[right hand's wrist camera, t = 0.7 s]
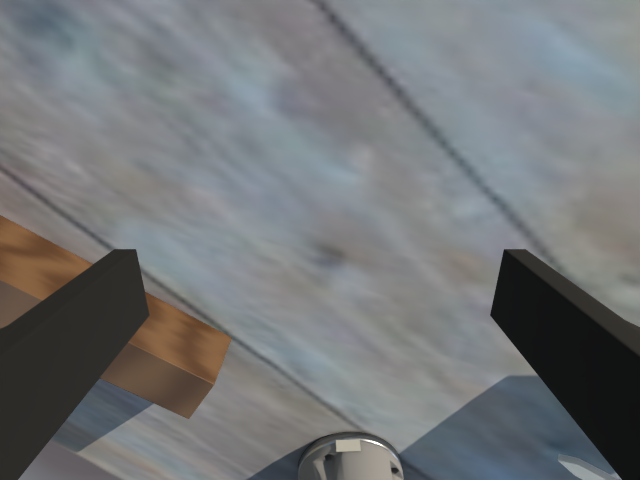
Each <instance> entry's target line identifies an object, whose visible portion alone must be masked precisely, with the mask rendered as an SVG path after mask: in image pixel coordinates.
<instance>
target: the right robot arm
mask: <svg viewBox="0 0 640 480" xmlns="http://www.w3.org/2000/svg"><path fill="white" fill-rule="evenodd" d="M149 316H150V314H149V310H148V305H147V300H146V295H145V290H144V286H143V281H142V276H141V271H140V266H139V262H138V257H137V252H136V249H114V250H113V251H112V252H110V253H109V254H107V255H106V256H105V257H103V258H102V259H100V260H99V261H97V262H96V263H95V264H93V265H92V266H90V267H89V268H88V269H86V270H85V271H83V272H82V273H81V274H79V275H78V276H76V277H75V278H74V279H72V280H71V281H69V282H68V283H67V284H65V285H64V286H62V287H61V288H60V289H58V290H57V291H55V292H54V293H53V294H51V295H50V296H48V297H47V298H46V299H44V300H43V301H41V302H40V303H39V304H37V305H36V306H34V307H33V308H32V309H30V310H29V311H27V312H26V313H24V314H23V315H22V316H20V317H19V318H17V319H16V320H15V321H13V322H12V323H10V324H9V325H7V326H5V327H3V328H1V329H0V480H18V479H19V478H20V476H21V475H22V474H23V473H24V471H25V470H26V469H27V468H28V466H29V465H30V464H31V463H32V461H33V460H34V459H35V458H36V456H37V455H38V454H39V453H40V451H41V450H42V449H43V448H44V446H45V445H46V444H47V443H48V441H49V440H50V439H51V438H52V436H53V435H54V434H55V433H56V432H57V430H58V429H59V428H60V427H61V425H62V424H63V423H64V422H65V420H66V419H67V418H68V417H69V415H70V414H71V413H72V412H73V410H74V409H75V408H76V407H77V405H78V404H79V403H80V402H81V400H82V399H83V398H84V397H85V395H86V394H87V393H88V392H89V390H90V389H91V388H92V387H93V385H94V384H95V383H96V382H97V380H98V379H99V378H100V377H101V375H102V374H103V373H104V372H105V370H106V369H107V368H108V367H109V365H110V364H111V363H112V362H113V360H114V359H115V358H116V357H117V355H118V354H119V353H120V352H121V350H122V349H123V348H124V347H125V345H126V344H127V343H128V342H129V340H130V339H131V338H132V337H133V336H134V334H135V333H136V332H137V331H138V329H139V328H140V327H141V326H142V324H143V323H144V322H145V321H146V319H147V318H148V317H149ZM490 316H491V317H492V318H493V319H494V321H495V322H496V323H497V324H498V326H499V327H500V328H501V329H502V331H503V332H504V333H505V334H506V336H507V337H508V338H509V339H510V340H511V342H512V343H513V344H514V345H515V347H516V348H517V349H518V350H519V352H520V353H521V354H522V355H523V357H524V358H525V359H526V360H527V362H528V363H529V364H530V365H531V367H532V368H533V369H534V370H535V372H536V373H537V374H538V375H539V377H540V378H541V379H542V380H543V382H544V383H545V384H546V385H547V387H548V388H549V389H550V390H551V392H552V393H553V394H554V395H555V397H556V398H557V399H558V400H559V402H560V403H561V404H562V405H563V407H564V408H565V409H566V410H567V412H568V413H569V414H570V415H571V417H572V418H573V419H574V420H575V422H576V423H577V424H578V425H579V427H580V428H581V429H582V430H583V432H584V433H585V434H586V435H587V436H588V438H589V439H590V440H591V441H592V443H593V444H594V445H595V446H596V448H597V449H598V450H599V451H600V453H601V454H602V455H603V456H604V458H605V459H606V460H607V461H608V463H609V464H610V465H611V466H612V468H613V469H614V470H615V471H616V473H617V474H618V475H619V476H620V478H621V479H622V480H640V327H638V326H636V325H634V324H632V323H630V322H628V321H625V320H624V319H623V318H621V317H620V316H618V315H617V314H616V313H614V312H613V311H611V310H610V309H608V308H607V307H606V306H604V305H603V304H601V303H600V302H599V301H597V300H596V299H594V298H593V297H592V296H590V295H589V294H587V293H586V292H585V291H583V290H582V289H580V288H579V287H578V286H576V285H575V284H573V283H572V282H571V281H569V280H568V279H566V278H565V277H564V276H562V275H561V274H559V273H558V272H557V271H555V270H554V269H552V268H551V267H550V266H548V265H547V264H545V263H544V262H543V261H541V260H540V259H538V258H537V257H535V256H534V255H533V254H531V253H530V252H528V251H527V250H526V249H504V252H503V257H502V262H501V266H500V271H499V276H498V281H497V286H496V290H495V295H494V300H493V305H492V310H491V314H490ZM298 480H403V469H402V465H401V460H400V457H399V455H398V453H397V451H396V450H395V449H394V448H393V447H392V446H391V445H390V444H389V443H388V442H386V441H385V440H383V439H381V438H379V437H376V436H374V435H370V434H366V433H360V432H342V433H336V434H332V435H329V436H326V437H323V438H321V439H319V440H317V441H316V442H314V443H313V444H311V445H310V446H309V447H308V448H307V449H306V450H305V451H304V453H303V454H302V456H301V458H300V461H299V466H298Z"/></svg>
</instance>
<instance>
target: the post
mask: <svg viewBox="0 0 640 480" xmlns="http://www.w3.org/2000/svg"><path fill="white" fill-rule="evenodd" d="M92 265H93V264H91V263H89V262H88V261H86V260H84V259H82V258H80V257H78V256H76V255H74V254H72V253H71V252H69V251H67V250H65V249H63V248H61V247H59V246H57V245H55V244H53V243H52V242H50V241H48V240H46V239H44V238H42V237H40V236H38V235H36V234H35V233H33V232H31V231H29V230H27V229H25V228H23V227H21V226H19V225H18V224H16V223H14V222H12V221H10V220H8V219H6V218H4V217H2V216H1V215H0V329H1V328H3V327H5V326H7V325H9V324H10V323H12V322H13V321H15V320H16V319H17V318H19V317H20V316H22V315H23V314H24V313H26V312H27V311H29V310H30V309H32V308H33V307H34V306H36V305H37V304H39V303H40V302H41V301H43V300H44V299H46V298H47V297H48V296H50V295H51V294H53V293H54V292H55V291H57V290H58V289H60V288H61V287H62V286H64V285H65V284H67V283H68V282H69V281H71V280H72V279H74V278H75V277H76V276H78V275H79V274H81V273H82V272H83V271H85V270H86V269H88V268H89V267H90V266H92ZM145 295H146V300H147V305H148V310H149V314H150V316H149V317H148V318H147V319H146V321H145V322H144V323H143V324H142V326H141V327H140V328H139V329H138V331H137V332H136V333H135V334H134V336H133V337H132V338H131V339H130V340H129V342H128V343H127V344H126V345H125V347H124V348H123V349H122V350H121V352H120V353H119V354H118V355H117V357H116V358H115V359H114V360H113V362H112V363H111V364H110V365H109V367H108V368H107V369H106V370H105V372H104V373H103V374H102V375H101V377H100V379H103V380H105V381H107V382H109V383H111V384H114V385H116V386H118V387H120V388H122V389H124V390H127V391H129V392H131V393H133V394H135V395H137V396H140V397H142V398H144V399H146V400H148V401H150V402H153V403H155V404H157V405H159V406H161V407H164V408H166V409H168V410H170V411H172V412H174V413H177V414H179V415H181V416H183V417H185V418H187V419H189V418H190V417H191V415H192V414H193V413H194V411H195V410H196V409H197V407H198V406H199V405H200V403H201V402H202V400H203V399H204V398H205V396H206V395H207V394H208V392H209V391H210V390H211V388H212V387H213V386H214V384H215V381H216V379H217V376H218V373H219V370H220V368H221V365H222V362H223V360H224V357H225V354H226V352H227V349H228V346H229V344H230V341H231V337H229V336H227V335H226V334H224V333H222V332H220V331H218V330H216V329H214V328H212V327H210V326H209V325H207V324H205V323H203V322H201V321H199V320H197V319H195V318H193V317H192V316H190V315H188V314H186V313H184V312H182V311H180V310H178V309H176V308H175V307H173V306H171V305H169V304H167V303H165V302H163V301H161V300H159V299H157V298H156V297H154V296H152V295H150V294H148V293H146V292H145Z"/></svg>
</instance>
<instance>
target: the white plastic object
mask: <svg viewBox="0 0 640 480" xmlns="http://www.w3.org/2000/svg"><path fill="white" fill-rule="evenodd" d="M558 461H559V462H560V463H561V464H562V465H563V466H565V467H566V468H567V469H568V470H569V471H570V472H571V473H572V474H574V475H575V476H576V477H578V478H580V479H582V480H620V479H618V478H616V477H614V476H612V475H610V474H608V473H606V472H604V471H603V470H601V469H599V468H597V467H595V466H593V465H591V464H589V463H587V462H585V461H583V460H581V459H579V458H577V457H572V456H567V455H563V454H559V456H558Z"/></svg>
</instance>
